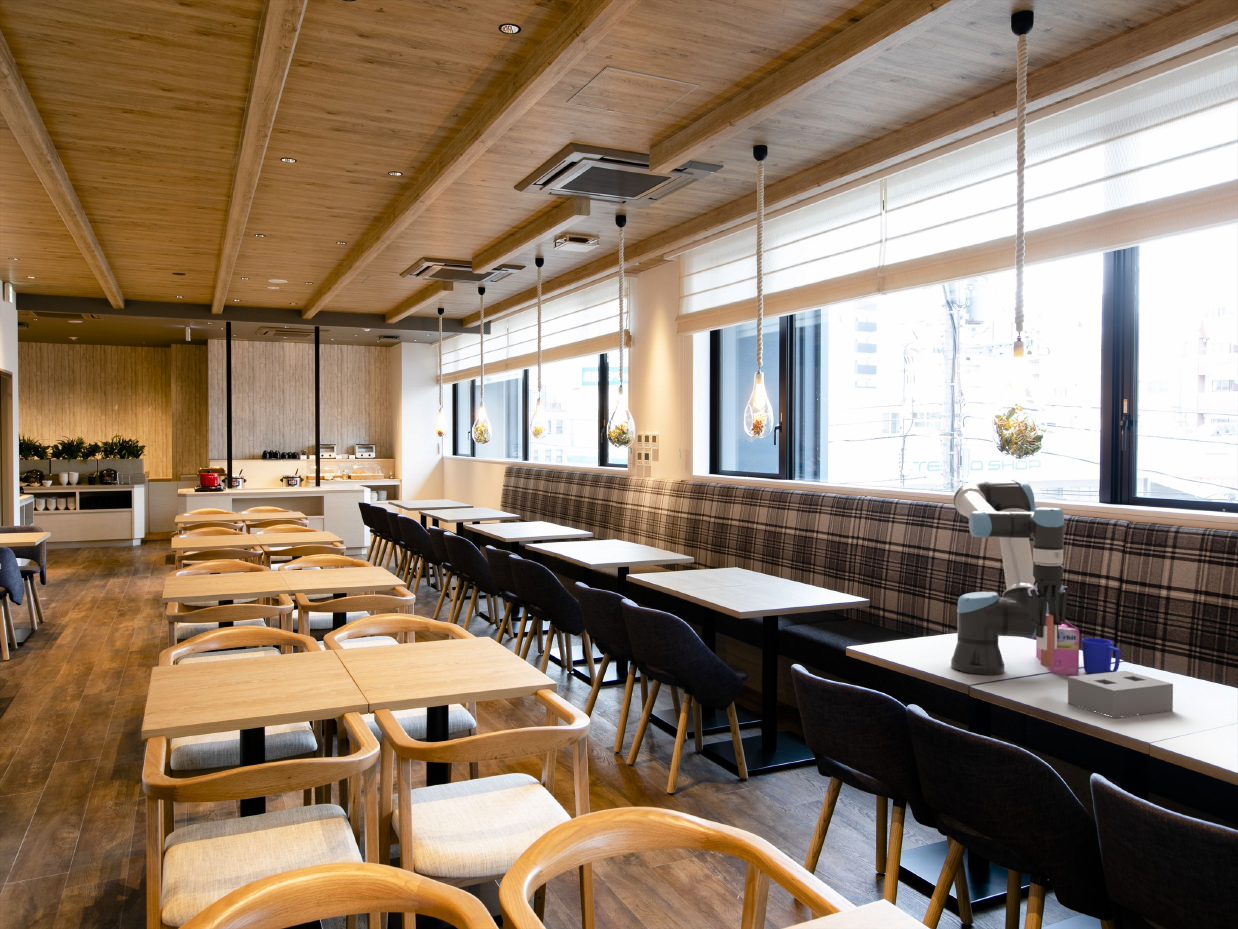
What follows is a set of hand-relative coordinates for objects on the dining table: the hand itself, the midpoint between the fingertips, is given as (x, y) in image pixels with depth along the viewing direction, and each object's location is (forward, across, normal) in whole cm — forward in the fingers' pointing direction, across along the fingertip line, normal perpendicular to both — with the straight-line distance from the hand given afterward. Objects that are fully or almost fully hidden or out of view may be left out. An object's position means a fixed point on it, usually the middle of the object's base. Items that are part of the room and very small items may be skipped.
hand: (1046, 648), depth 238 cm
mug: (+13, +31, +9) cm, 35 cm away
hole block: (+12, +8, -17) cm, 22 cm away
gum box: (+13, +28, +24) cm, 39 cm away
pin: (+5, 0, 0) cm, 5 cm away
